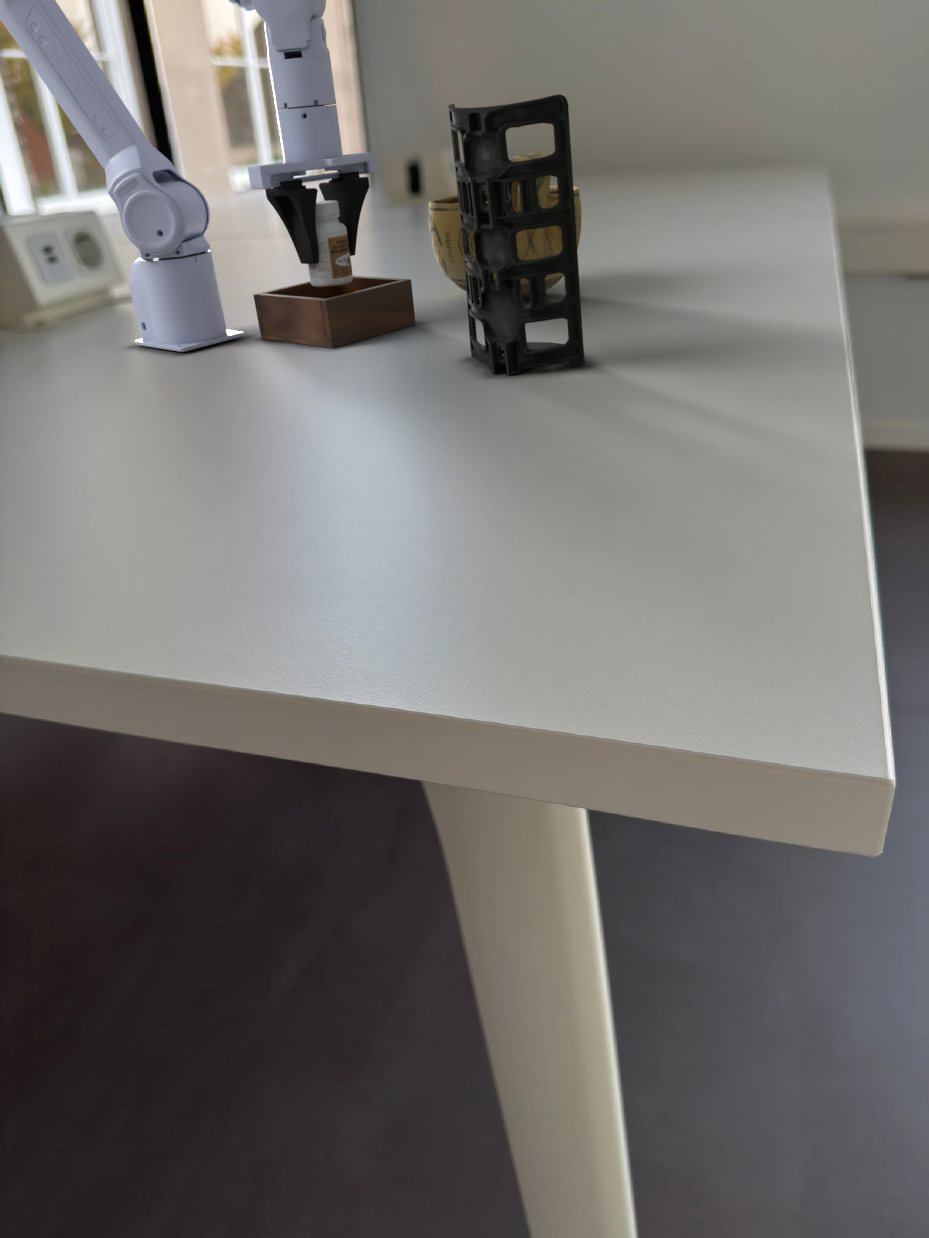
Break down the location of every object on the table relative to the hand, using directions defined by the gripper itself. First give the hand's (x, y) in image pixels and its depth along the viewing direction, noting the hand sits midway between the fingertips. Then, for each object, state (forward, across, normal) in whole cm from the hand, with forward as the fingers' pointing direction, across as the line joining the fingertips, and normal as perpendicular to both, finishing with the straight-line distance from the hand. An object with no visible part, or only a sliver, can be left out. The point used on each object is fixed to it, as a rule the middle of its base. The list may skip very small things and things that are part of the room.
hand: (328, 259), depth 96 cm
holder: (+7, -4, -28) cm, 29 cm away
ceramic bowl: (+7, +21, -6) cm, 23 cm away
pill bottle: (+3, 0, 0) cm, 3 cm away
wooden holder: (+7, 0, 0) cm, 7 cm away
